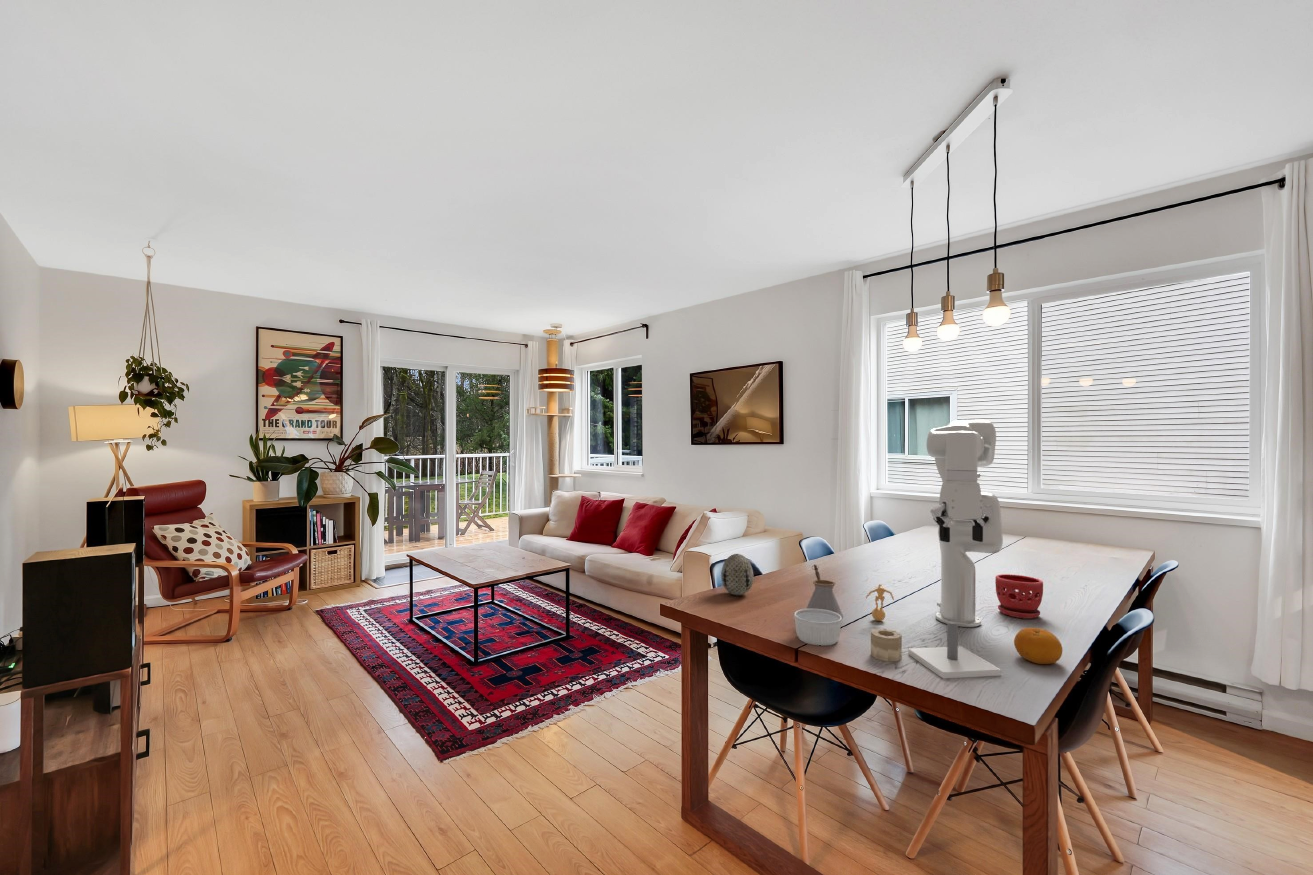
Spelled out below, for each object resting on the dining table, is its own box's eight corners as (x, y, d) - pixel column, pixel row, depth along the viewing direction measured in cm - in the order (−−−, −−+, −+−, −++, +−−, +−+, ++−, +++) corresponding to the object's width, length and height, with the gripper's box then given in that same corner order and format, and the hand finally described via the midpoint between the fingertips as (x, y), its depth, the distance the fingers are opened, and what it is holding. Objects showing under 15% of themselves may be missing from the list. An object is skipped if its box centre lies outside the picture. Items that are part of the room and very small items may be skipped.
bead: (867, 651, 151) (867, 629, 151) (891, 650, 152) (891, 628, 152) (880, 661, 144) (880, 638, 144) (905, 660, 145) (906, 637, 145)
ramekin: (806, 627, 170) (806, 605, 170) (849, 637, 161) (849, 613, 161) (786, 640, 160) (786, 616, 160) (831, 651, 151) (831, 626, 151)
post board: (908, 654, 149) (908, 614, 149) (960, 651, 151) (960, 612, 151) (943, 678, 134) (943, 634, 134) (1000, 675, 136) (1001, 632, 136)
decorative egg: (760, 596, 202) (760, 555, 202) (734, 601, 197) (734, 558, 196) (739, 588, 213) (739, 549, 212) (714, 593, 207) (714, 552, 207)
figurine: (890, 619, 178) (890, 581, 178) (895, 625, 172) (896, 586, 172) (863, 617, 179) (863, 580, 179) (867, 624, 173) (867, 585, 173)
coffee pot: (847, 630, 167) (847, 580, 167) (807, 629, 168) (807, 579, 168) (832, 608, 188) (832, 564, 188) (797, 607, 189) (797, 563, 189)
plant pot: (1052, 621, 176) (1053, 583, 176) (1010, 620, 176) (1010, 582, 176) (1026, 608, 189) (1026, 572, 189) (986, 607, 189) (987, 572, 189)
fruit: (1009, 660, 145) (1009, 629, 145) (1019, 649, 152) (1019, 620, 152) (1058, 673, 138) (1058, 640, 138) (1066, 660, 145) (1066, 630, 145)
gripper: (980, 476, 155) (979, 538, 155) (923, 476, 152) (922, 539, 152) (1000, 478, 148) (1000, 543, 147) (941, 477, 145) (941, 544, 144)
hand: (961, 541), depth 150 cm, fingers open, 9 cm apart
